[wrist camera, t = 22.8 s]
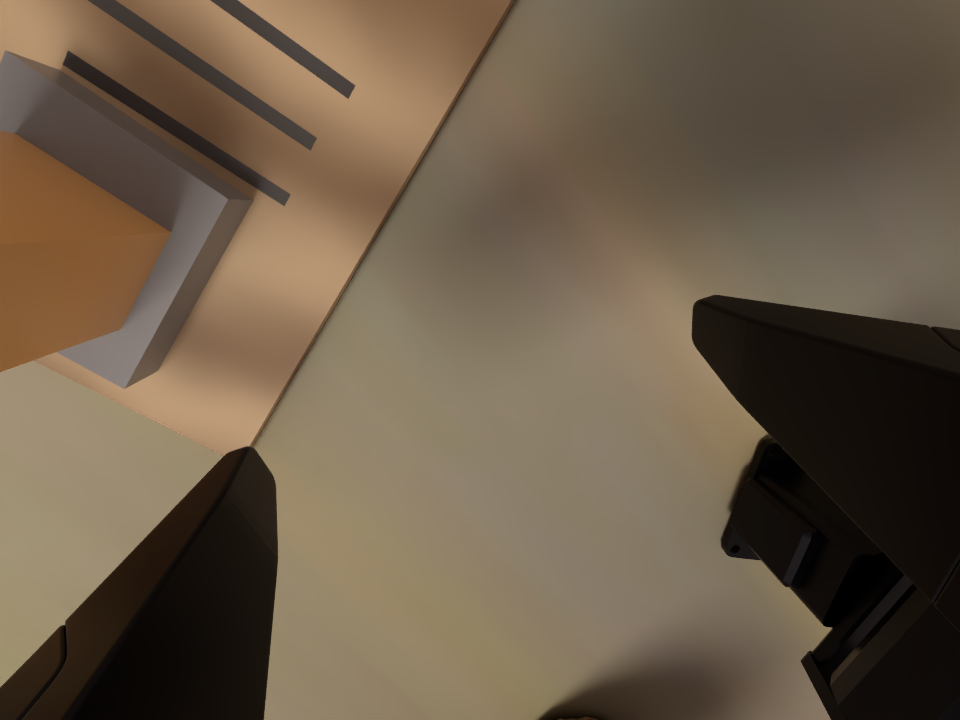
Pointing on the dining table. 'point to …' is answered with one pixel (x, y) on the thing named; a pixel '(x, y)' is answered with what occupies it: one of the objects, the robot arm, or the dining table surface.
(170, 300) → the sanding block
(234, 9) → the board
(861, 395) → the robot arm
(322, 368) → the dining table surface
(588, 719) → the bread loaf
